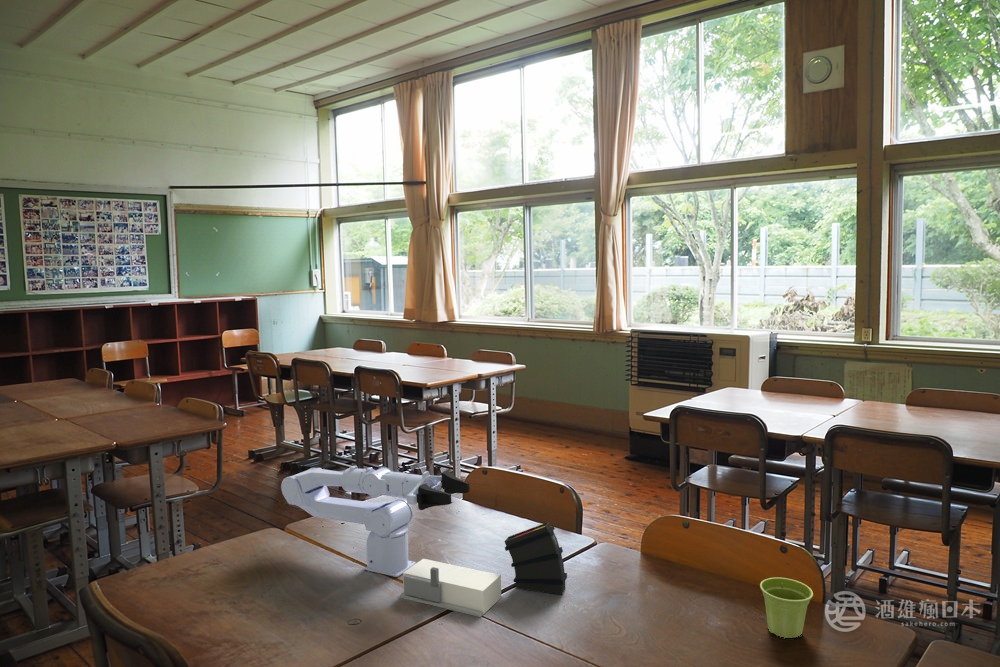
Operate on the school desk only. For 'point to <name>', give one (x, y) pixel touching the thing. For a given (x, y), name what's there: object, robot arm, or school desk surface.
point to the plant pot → (785, 605)
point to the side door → (424, 586)
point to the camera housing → (459, 587)
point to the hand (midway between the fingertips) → (459, 493)
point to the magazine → (537, 560)
